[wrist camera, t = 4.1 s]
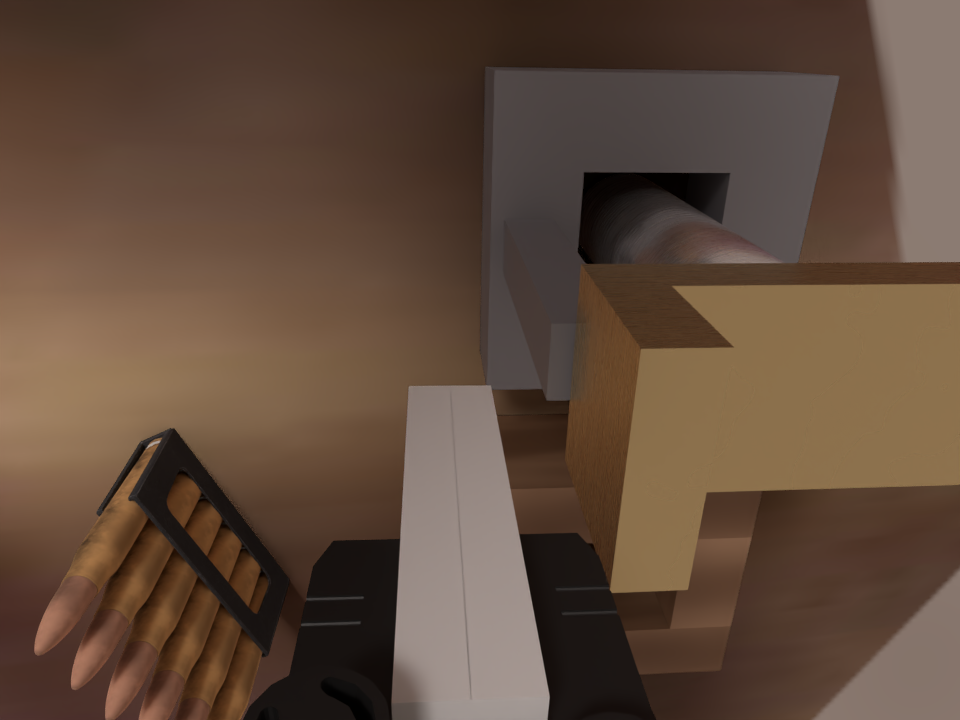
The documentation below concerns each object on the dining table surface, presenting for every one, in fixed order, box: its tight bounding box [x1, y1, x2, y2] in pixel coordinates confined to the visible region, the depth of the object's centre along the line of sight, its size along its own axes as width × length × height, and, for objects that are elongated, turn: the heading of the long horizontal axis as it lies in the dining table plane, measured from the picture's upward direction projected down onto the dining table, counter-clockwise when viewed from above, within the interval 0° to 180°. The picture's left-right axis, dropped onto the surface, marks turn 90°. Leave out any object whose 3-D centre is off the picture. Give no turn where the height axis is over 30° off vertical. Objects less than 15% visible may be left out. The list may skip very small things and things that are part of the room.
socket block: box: [480, 67, 839, 401], centre depth 23 cm, size 12×12×14 cm
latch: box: [565, 262, 960, 593], centre depth 14 cm, size 5×10×4 cm, turn 89°
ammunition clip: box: [35, 428, 289, 720], centre depth 29 cm, size 11×2×12 cm, turn 24°
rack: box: [497, 414, 762, 675], centre depth 33 cm, size 11×11×6 cm
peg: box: [579, 173, 784, 264], centre depth 23 cm, size 4×4×14 cm
